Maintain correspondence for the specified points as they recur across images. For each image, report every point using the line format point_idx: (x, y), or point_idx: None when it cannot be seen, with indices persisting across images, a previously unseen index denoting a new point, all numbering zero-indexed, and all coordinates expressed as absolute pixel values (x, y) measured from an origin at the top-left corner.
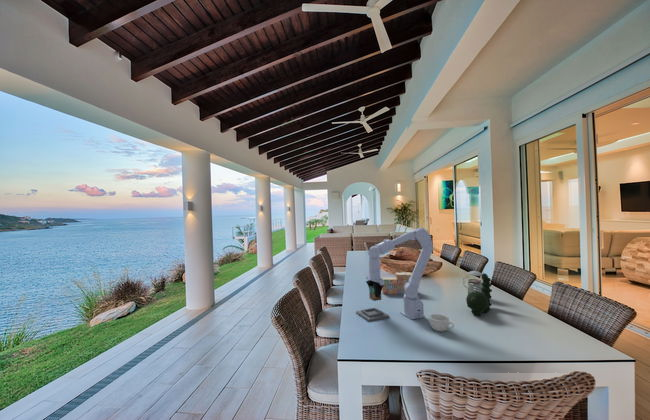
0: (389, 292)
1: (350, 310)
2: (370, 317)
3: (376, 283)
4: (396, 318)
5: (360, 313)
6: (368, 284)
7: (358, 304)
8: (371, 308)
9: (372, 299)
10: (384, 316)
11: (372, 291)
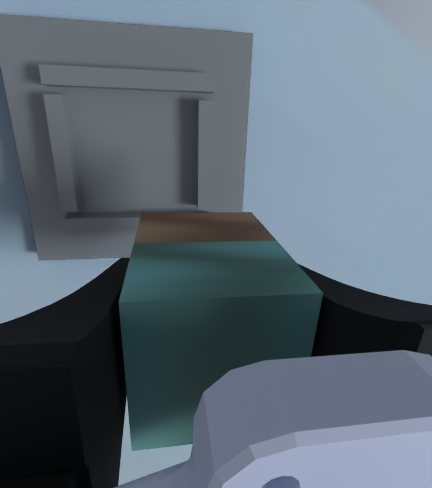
0: None
1: (335, 28)
2: (39, 73)
3: (54, 478)
4: (6, 289)
5: (180, 40)
6: (372, 306)
7: (400, 181)
8: (204, 191)
9: (179, 214)
10: (30, 213)
11: (182, 259)
